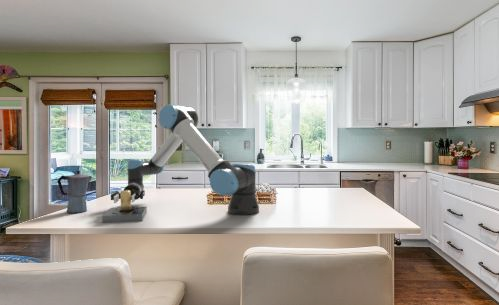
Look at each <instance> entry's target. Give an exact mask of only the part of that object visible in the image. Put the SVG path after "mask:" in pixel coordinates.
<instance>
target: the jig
mask: <svg viewBox="0 0 499 305" xmlns="http://www.w3.org/2000/svg"><path fill="white" fill-rule="evenodd" d="M147 212H148V208H147V206H131V212H121V207H110V208H109V210H107V211H106V212H105V213H104V214H103V215H102V224H105V223H106V224H107V223H108V224H109V223H111V224H112V223H130V222H143V220H144V218H145V217H146V216H147Z"/></svg>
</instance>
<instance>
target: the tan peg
mask: <svg viewBox="0 0 499 305" xmlns="http://www.w3.org/2000/svg"><path fill="white" fill-rule="evenodd" d="M119 193H120V196H121V199H120V208H121V212H131V207H132V200H131V190H124V189H123V190H120V191H119Z"/></svg>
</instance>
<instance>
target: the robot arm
mask: <svg viewBox="0 0 499 305" xmlns="http://www.w3.org/2000/svg"><path fill="white" fill-rule="evenodd" d="M158 122H159V125H160V126H161V127H162V129H166V130H169V131H170V132H171V133H170V134H169V135H168V137H167V138H166V139H165V140H164V142H162V144H161V146H160V147H159V148H158V149H157V151H156V152H155V153H154V155H153V156H152V157H151V159H149V160H148V161H143V159H141V158H131V159H128V160H127V185H126V186H125V187H124V189H123V190H131V203H135V201H136V200H139V199H140V200H143V199H144V196H145V195H146V194H145V192H146V191H145V189H144V188H145V186H144V184H143V183H144V176H152V175H159V174H162V172H163V171H164V167H165V164H166V162H168V160H169V159H170V157H172V155H173V154H174V153H175V151H176V150H177V149H178V148H179V147H180V146H181V144H182V143H184V144H185V145H186V146H187V148H188V149H189V150H190V151H191V152H192V154H194V156H195V157H196V158H197V160H198V161H199V162H200V163H201V164H202V166H203V167H204V168H205V169H206V171H207V177H208V178H209V182H210V183H209V185H210V188H211V189H212V191H213V192H214V193H215V194H217V195H218V196H230V200H229V203H228V205H227V212H228V213H229V214H232V215H238V216H239V215H241V216H243V215H245V216H247V215H255V214H258V213H259V212H260V205H259V203H258V200H257V197H256V167H255V165H253V164H249V163H248V164H245V163H231V162H230V161H229V160H227V159H223V158H222V157H221V156H220V155H219V153H217V151H216V150H215V149H214V147H213V146H211V144H210V143H209V142H208V141H207V139H206V138H205V137H204V136H203V134H202V133H201V132H200V131H199V129H197V126H198V123H199V115H198V113H197V111H196V110H195V108H193V107H190V106H184V105H178V104H173V103H171V104H166V105H164V106H162V107H161V109H160V111H159V114H158ZM110 200H111V201H113V204H117V202H118V201H120V200H121V196H120V191H118V190H115V192H113V193H111V194H110Z"/></svg>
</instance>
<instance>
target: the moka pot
mask: <svg viewBox="0 0 499 305" xmlns="http://www.w3.org/2000/svg"><path fill="white" fill-rule="evenodd" d="M92 179H93V176H91V175H87V174H81V170H76V174H72V175H71V174H70V175H61V176H60V177H59V178H58V179H57V185H58V187H59V190H60V193H61V195H62V196H67V195H68V194H69V197H68V203H67V207H66V213H71V214H74V213H75V214H78V213H84V212H85V213H86V212H87V210H88V207H87V196H86V195H87V190H88V186H89V184H90V181H91V180H92ZM62 180H64V181H67V186H68V192H69V193H68V192H65V191H64V188H63V186H62V182H61V181H62Z"/></svg>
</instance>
